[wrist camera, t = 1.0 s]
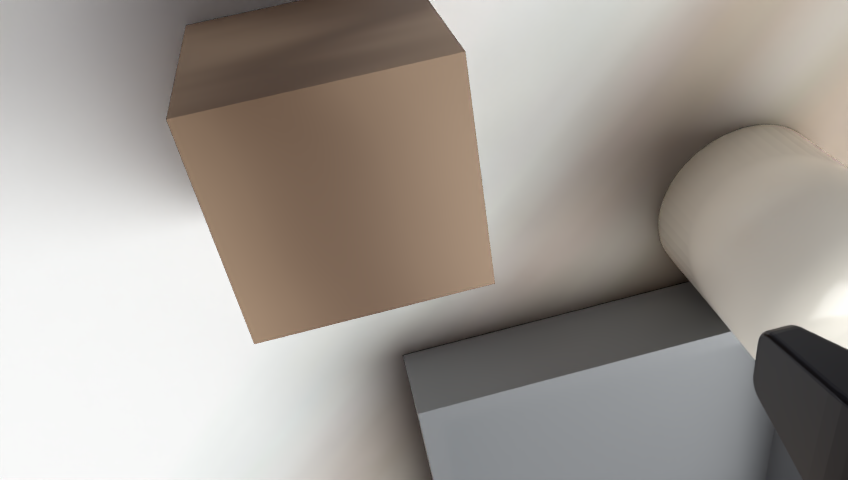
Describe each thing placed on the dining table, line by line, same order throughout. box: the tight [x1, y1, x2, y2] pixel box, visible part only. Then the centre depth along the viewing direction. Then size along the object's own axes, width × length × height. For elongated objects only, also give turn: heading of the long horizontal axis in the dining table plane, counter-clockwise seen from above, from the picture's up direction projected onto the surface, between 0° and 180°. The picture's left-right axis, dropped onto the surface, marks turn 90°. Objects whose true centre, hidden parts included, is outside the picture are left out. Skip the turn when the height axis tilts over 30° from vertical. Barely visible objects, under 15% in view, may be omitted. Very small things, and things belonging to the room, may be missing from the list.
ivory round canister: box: [658, 124, 848, 359], centre depth 20 cm, size 5×5×5 cm
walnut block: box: [166, 0, 495, 344], centre depth 16 cm, size 5×5×5 cm
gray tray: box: [403, 282, 802, 480], centre depth 26 cm, size 13×13×2 cm
